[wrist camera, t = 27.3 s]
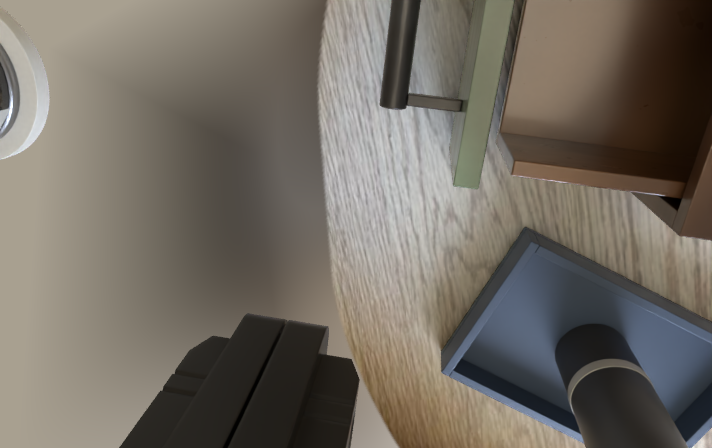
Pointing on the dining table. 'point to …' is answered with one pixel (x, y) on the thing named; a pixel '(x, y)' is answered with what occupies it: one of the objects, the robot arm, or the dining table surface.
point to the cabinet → (689, 197)
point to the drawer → (574, 90)
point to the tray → (563, 313)
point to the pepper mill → (612, 392)
